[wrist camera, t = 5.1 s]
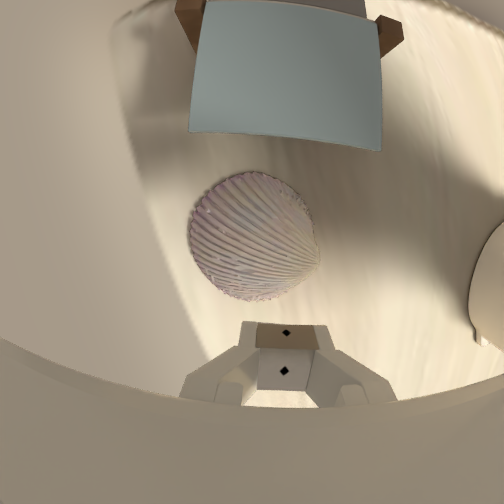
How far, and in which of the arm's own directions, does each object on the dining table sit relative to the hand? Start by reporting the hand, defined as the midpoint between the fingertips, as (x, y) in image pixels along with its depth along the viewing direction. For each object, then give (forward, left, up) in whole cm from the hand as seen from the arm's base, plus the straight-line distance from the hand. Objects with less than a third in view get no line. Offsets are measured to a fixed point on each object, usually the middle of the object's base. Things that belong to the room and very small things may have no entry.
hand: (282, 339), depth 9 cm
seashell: (+1, -1, -13) cm, 13 cm away
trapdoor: (0, -13, -9) cm, 16 cm away
